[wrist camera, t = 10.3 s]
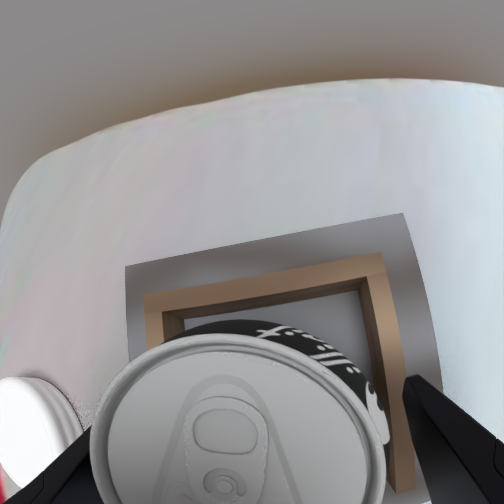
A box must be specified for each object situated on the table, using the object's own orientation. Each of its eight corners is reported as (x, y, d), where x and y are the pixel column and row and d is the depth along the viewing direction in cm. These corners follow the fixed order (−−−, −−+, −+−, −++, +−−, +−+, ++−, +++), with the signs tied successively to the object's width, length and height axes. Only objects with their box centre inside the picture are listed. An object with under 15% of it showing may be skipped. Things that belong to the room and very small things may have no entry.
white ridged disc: (11, 369, 20) (-18, 366, 17) (87, 388, 19) (54, 389, 15) (19, 468, 17) (-7, 473, 14) (98, 505, 15) (71, 519, 12)
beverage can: (222, 452, 15) (92, 557, 4) (223, 341, 17) (75, 304, 6) (341, 454, 14) (382, 596, 3) (343, 339, 16) (413, 298, 5)
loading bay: (441, 488, 12) (466, 511, 9) (164, 520, 14) (137, 544, 11) (399, 219, 19) (416, 188, 15) (132, 270, 21) (99, 251, 17)
